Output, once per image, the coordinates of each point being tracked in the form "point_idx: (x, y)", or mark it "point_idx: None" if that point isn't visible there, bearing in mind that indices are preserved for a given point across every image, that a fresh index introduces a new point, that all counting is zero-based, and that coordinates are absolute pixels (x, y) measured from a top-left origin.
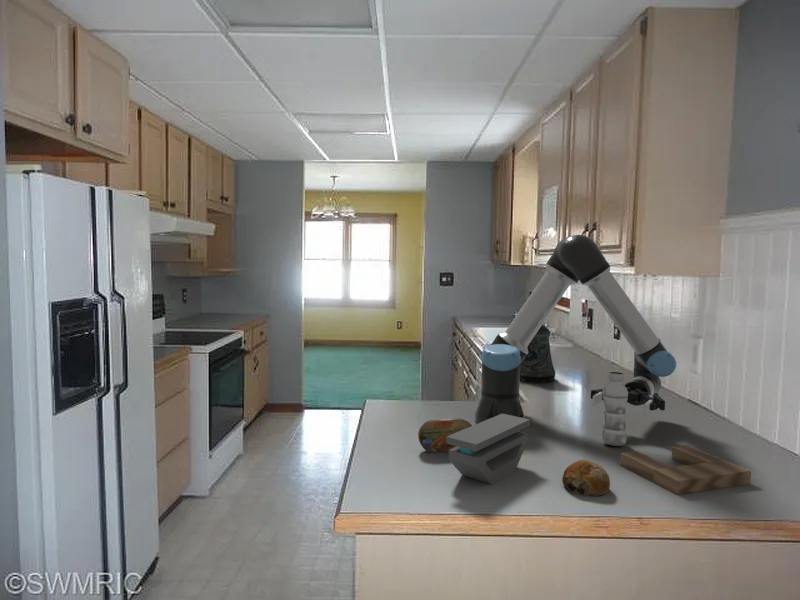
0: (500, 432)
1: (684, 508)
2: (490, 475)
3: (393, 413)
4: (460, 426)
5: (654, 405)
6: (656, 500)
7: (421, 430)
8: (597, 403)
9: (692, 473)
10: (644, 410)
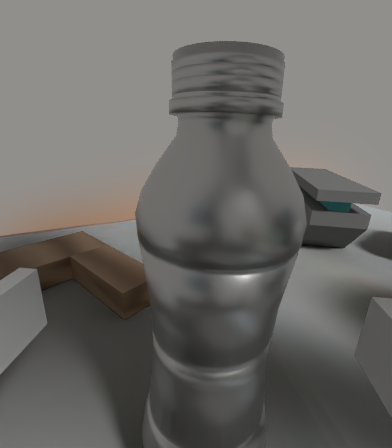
0: (299, 174)
1: (89, 233)
2: None
3: None
4: None
5: None
6: (117, 236)
7: None
8: (388, 400)
9: (41, 249)
10: (40, 301)
